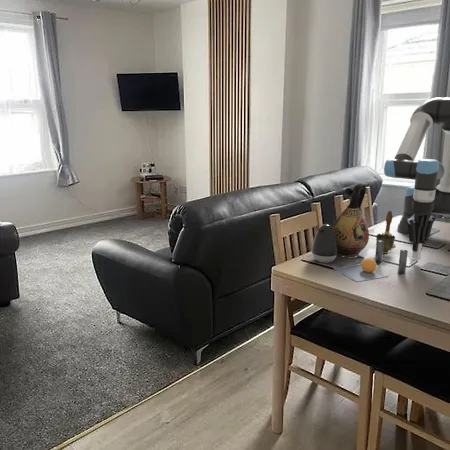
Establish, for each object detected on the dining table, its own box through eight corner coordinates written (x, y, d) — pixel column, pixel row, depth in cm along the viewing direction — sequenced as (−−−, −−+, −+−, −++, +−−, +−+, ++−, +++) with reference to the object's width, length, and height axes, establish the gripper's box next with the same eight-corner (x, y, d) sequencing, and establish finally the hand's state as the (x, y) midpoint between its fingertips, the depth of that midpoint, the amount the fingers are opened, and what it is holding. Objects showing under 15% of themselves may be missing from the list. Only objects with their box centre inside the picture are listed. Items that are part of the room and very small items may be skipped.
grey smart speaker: (305, 260, 179) (307, 224, 175) (320, 255, 186) (322, 219, 183) (327, 267, 172) (330, 229, 168) (341, 261, 179) (345, 224, 176)
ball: (358, 257, 167) (357, 271, 169) (368, 261, 163) (367, 276, 164) (369, 255, 170) (368, 268, 171) (380, 259, 165) (379, 273, 166)
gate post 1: (378, 261, 179) (380, 239, 177) (383, 263, 177) (385, 241, 175) (373, 262, 179) (375, 240, 176) (377, 264, 176) (380, 242, 174)
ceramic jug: (352, 263, 177) (359, 188, 169) (321, 253, 189) (326, 183, 181) (376, 254, 188) (384, 184, 180) (345, 245, 199) (351, 179, 191)
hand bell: (392, 243, 204) (396, 209, 200) (397, 248, 196) (401, 213, 192) (374, 242, 205) (377, 208, 200) (378, 248, 197) (381, 212, 192)
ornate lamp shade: (376, 249, 194) (378, 232, 192) (394, 252, 190) (396, 234, 188) (372, 254, 188) (374, 236, 185) (391, 257, 184) (393, 239, 182)
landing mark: (362, 264, 176) (362, 263, 176) (387, 276, 163) (387, 276, 163) (333, 268, 171) (333, 268, 171) (356, 282, 158) (356, 281, 158)
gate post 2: (401, 272, 168) (404, 249, 166) (406, 274, 166) (409, 251, 164) (396, 272, 167) (398, 250, 165) (401, 275, 165) (403, 252, 163)
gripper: (417, 203, 165) (410, 263, 171) (444, 200, 169) (436, 259, 176) (402, 199, 171) (396, 257, 178) (428, 197, 176) (421, 253, 182)
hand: (416, 258), depth 177 cm, fingers closed
